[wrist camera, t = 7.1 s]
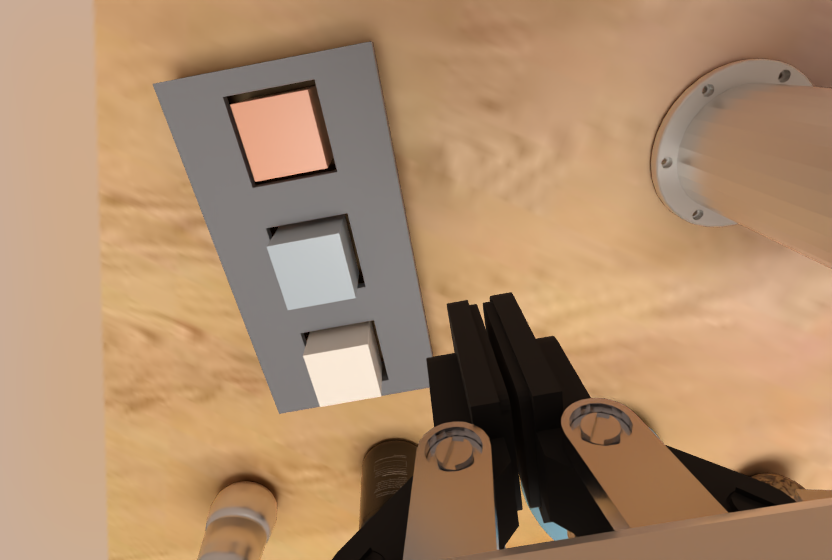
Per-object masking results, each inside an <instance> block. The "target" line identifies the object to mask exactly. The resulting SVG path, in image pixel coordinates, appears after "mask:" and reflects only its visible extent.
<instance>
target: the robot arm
mask: <svg viewBox="0 0 832 560" xmlns="http://www.w3.org/2000/svg"><path fill="white" fill-rule="evenodd" d="M703 88H704V90H703ZM702 91H703V92H702ZM663 159H664V161H663V162H662V160H663ZM651 172H652V181H653V184H654V187H655V190H656V193H657V194H658V196H659V198H660V199H661V201H662V202H663V204H664V205H665V206H666V207H667V208H668V209H669V210H670V211H671V212H672V213H674V214H675V215H677V216H679V217H680V218H682V219H684V220H686V221H688V222H690V223H692V224H695V225H700V226H705V227H724V226H730V225H735V224H741V225H743V226H745V227H747V228H749V229H751V230H753V231H755V232H757V233H759V234H761V235H763V236H765V237H767V238H769V239H771V240H773V241H776V242H778V243H780V244H782V245H784V246H786V247H788V248H790V249H792V250H794V251H796V252H798V253H800V254H802V255H804V256H806V257H808V258H810V259H812V260H815V261H817V262H819V263H821V264H823V265H825V266H827V267H829V268H831V269H832V88H824V87H814V86H813V85H812V83H811V82H810V81H809V79H808V78H807V77H806V75H805V74H803V73H802V72H801V71H799V70H798V69H797V68H795V67H794V66H791V65H789V64H786V63H784V62H781V61H777V60H769V59H747V60H741V61H736V62H732V63H729V64H726V65H724V66H721V67H719V68H716V69H714V70H713V71H711V72H709V73H708V74H706V75H704V76H703V77H701V78H700V79H698V80H697V81H696V82H695V83H694V84H692V85H691V86H690V87H689V88H688V89H686V90H685V91H684V93H683V94H682V95H681V96H680V97H679V98H678V99H677V100H676V102H675V103H674V104H673V105H672V107H671V108H670V110H669V111H668V113H667V114H666V116H665V118H664V119H663V121H662V124H661V126H660V128H659V130H658V132H657V135H656V138H655V142H654V146H653V149H652V158H651ZM447 310H448V316H449V322H450V328H451V334H452V340H453V346H454V352H455V353H452V354H446V355H440V356H435V357H429V358H426V361H427V370H428V378H429V387H430V395H431V404H432V412H433V420H434V428H432V429H431V430H430V431H428V432H427V433H426V434H425V435H424V436H423V437H422V439H421V440H420V441H419V444H418V447H417V451H416V459H415V467H414V475H413V476H412V477H411V478H410V479H409V480H408V481H407V482H406V483H405V484H404V485H403V486H402V487H401V488H400V489H399V490H398V491H397V492H396V493H395V494H394V495H393V496H392V497H391V498H390V499H389V500H388V501H387V502H386V503H385V504H384V505H383V506H382V507H381V508H380V509H379V511H378V512H377V513H376V514H375V515H374V516H373V517H372V518H371V519H370V520H369V521H368V522H367V523H366V524H365V525H364V526H363V527H362V528H361V529H360V530H359V531H358V532H357V533H356V534H355V535H354V536H353V537H352V538H351V539H350V540H349V541H348V542H347V543H346V544H345V545H344V546H343V547H342V548H341V549H340V550H339V551H338V552H337V554H336V555H335V556H334V558H333V559H332V560H832V490H808V489H796V490H795V495H794V496H788V495H787V494H786V493H784V492H783V491H781V490H780V489H778V488H776V487H773V486H771V485H769V484H767V483H765V482H762V481H760V480H757V479H754V478H752V477H749V476H746V475H744V474H741V473H738V472H736V471H733V470H730V469H728V468H725V467H722V466H720V465H717V464H714V463H712V462H709V461H707V460H704V459H701V458H699V457H696V456H693V455H691V454H688V453H685V452H683V451H680V450H677V449H675V448H672V447H669V446H667V445H664V444H663V442H662V441H661V440H660V439H659V438H658V437H657V436H656V435H655V434H654V433H653V432H652V431H651V430H650V429H649V428H648V426H647V425H646V424H645V423H644V422H643V421H642V420H641V419H640V418H639V417H638V416H637V415H636V414H635V413H634V412H633V411H632V410H630V409H629V408H628V407H627V406H625V405H623V404H620V403H618V402H616V401H612V400H608V399H604V398H591V397H590V396H589V394H588V392H587V390H586V389H585V387H584V385H583V384H582V382H581V380H580V378H579V377H578V375H577V373H576V372H575V370H574V368H573V366H572V365H571V363H570V361H569V360H568V358H567V356H566V354H565V353H564V351H563V349H562V348H561V346H560V344H559V342H558V341H557V339H556V338H555V337H554V336H549V337H544V338H538V339H535V337H534V335H533V333H532V331H531V329H530V327H529V325H528V323H527V321H526V319H525V317H524V315H523V313H522V311H521V309H520V307H519V305H518V303H517V301H516V300H515V298H514V296H513V294H512V292H510V293H504V294H499V295H493V296H490V302H485V303H483V310H484V318H485V326H486V329H485V326H484V323H483V320H482V318H481V315H480V312H479V309H478V306H477V304H474V305H469V303H468V300H465V301H459V302H454V303H448V304H447ZM519 476H520V479H521V482H522V486H523V489H524V492H525V495H526V499H527V502H528V505H529V507H530V508H537V507H539V510H540V513H541V516H542V519H543V522H544V523H549V522H554V523H555V524H557V525H559V526H561V527H563V528H564V529H566V530H567V536H568V539H562V540H556V541H550V542H544V543H537V544H531V545H525V546H519V547H513V548H507V549H506V548H505V545H506V543H507V542H508V540H509V539H510V538H511V536H512V535H513V533H514V532H515V531H516V529H517V528H518V526H519V522H518V513H517V511H518V510H522V500H521V491H520V482H519Z"/></svg>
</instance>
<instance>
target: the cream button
mask: <svg viewBox="0 0 832 560" xmlns="http://www.w3.org/2000/svg"><path fill="white" fill-rule="evenodd" d="M303 357H304V360H305V363H306V366H307V369H308V372H309V375H310V378H311V381H312V384H313V387H314V390H315V393H316V396H317V399H318V402H319V405H320V407H323V406H329V405H334V404H340V403H346V402H351V401H357V400H363V399H369V398H374V397H380V396H381V391H382V362H381V358H380V354H379V350H378V346H377V342H376V338H375V334H374V330H373V326H372V322H371V321H366V322H361V323H355V324H350V325H344V326H338V327H333V328H327V329H322V330H316V331H310V333H309V336H308V340H307V343H306V347H305V350H304V354H303Z"/></svg>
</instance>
